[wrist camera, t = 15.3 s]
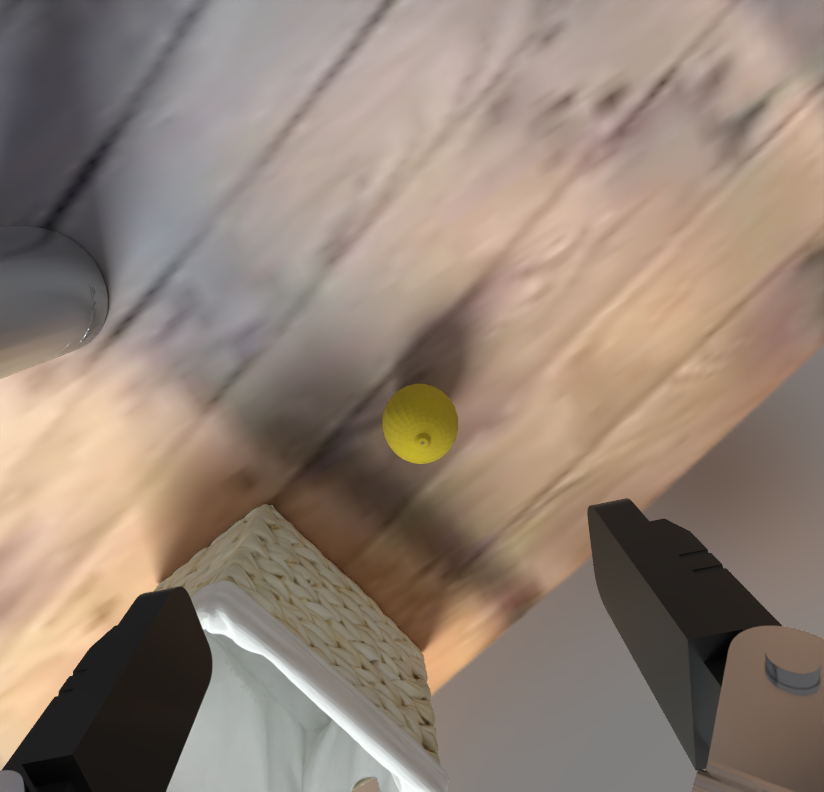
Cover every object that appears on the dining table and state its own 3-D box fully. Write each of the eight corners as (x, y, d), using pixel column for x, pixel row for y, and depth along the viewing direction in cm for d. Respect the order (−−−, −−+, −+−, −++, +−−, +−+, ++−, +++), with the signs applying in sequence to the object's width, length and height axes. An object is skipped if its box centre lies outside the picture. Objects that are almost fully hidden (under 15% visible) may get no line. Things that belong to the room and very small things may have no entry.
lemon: (441, 363, 42) (451, 393, 35) (459, 426, 44) (473, 468, 36) (374, 383, 43) (369, 417, 35) (395, 445, 44) (395, 490, 37)
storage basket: (443, 656, 51) (462, 819, 37) (314, 742, 54) (287, 925, 40) (267, 480, 45) (210, 594, 31) (132, 586, 48) (23, 737, 34)
